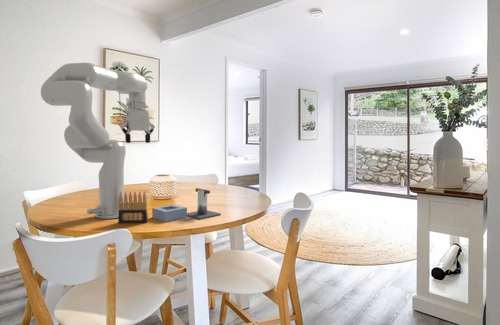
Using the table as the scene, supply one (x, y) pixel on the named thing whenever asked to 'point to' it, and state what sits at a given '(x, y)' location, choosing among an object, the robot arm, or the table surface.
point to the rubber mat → (198, 216)
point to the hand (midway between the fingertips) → (138, 142)
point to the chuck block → (169, 213)
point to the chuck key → (202, 201)
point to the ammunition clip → (132, 209)
